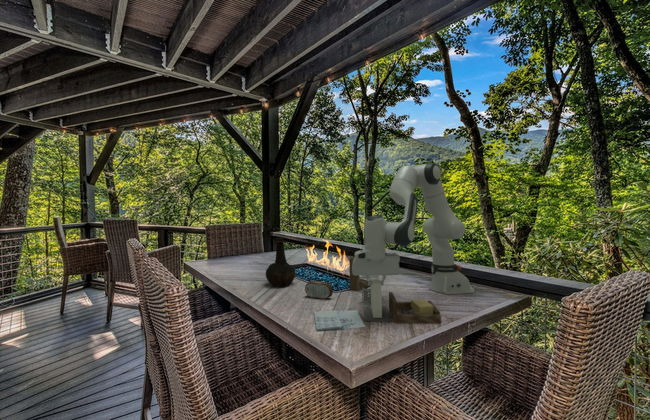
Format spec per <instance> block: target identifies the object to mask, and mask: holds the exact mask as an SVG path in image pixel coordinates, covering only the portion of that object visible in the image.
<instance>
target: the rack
mask: <svg viewBox="0 0 650 420" xmlns="http://www.w3.org/2000/svg"><path fill="white" fill-rule="evenodd" d="M426 301H427V302H429V303H430V304H431V305H433V306H434V313H433V315H432V314H414V313H412V314H404V313H403V314H402V313H401V314H398V310H399V311H400V310H403V311H404V310H406V311H407V310H410V311H411V310H412V307H411V301H397V299H396V297H395V295H394V293H393V291H391V292H390V291H388V311H389V313H390V315H391V318H392V320H393V323H394V324H442V315H441V312H440V309H438V308H437V307H436V305H435V304H434V303H433V302H432V300H426Z"/></svg>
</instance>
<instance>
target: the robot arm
mask: <svg viewBox="0 0 650 420" xmlns="http://www.w3.org/2000/svg"><path fill="white" fill-rule="evenodd" d="M441 178H442V170H441V168H440V166H439V165H438V164H437V163H436V162H428V163H425V164H424V163H423V164H417V165H415V166H412V165H403V166H401V167H400V168H399V169H398V170H397V171H396V173H395V176H394V178H393V180H392V182H391V184H390V188H389V195H390V197H391V199H392V200H393V201H394V202H395V203H397V204H399V205H402V206H404V207H405V208H404V214H403V219H402V221H400V222H394V221H387V220H385V218H384V216H383V215H381V214H380V215H379V214H375V215H369V216H367V217H366V218H365V221H364V230H363V231H364V241H365V242H364V243H365V244H364V248H363V249H360V250H356V251H355V252H354V257H355V258H354V260H353V264H352V274H353V275H359V276H362V275H365V277H366V278H365V279H366V281H367V282H368V286H369V285H372V284H371V283H372V281H370V278H369V275H379V276H381V277H382V279H381V280H380V283H381V286H384V282H385V281H386V279H387V276H399V274H400V272H401V271H400V270H401V269H400V262H401V257H400V255H399V254H397V252H392V253H391V252H388V253H387V251H386V248H387V247H386V244H388V245H398V246H401V247H407V246H409V245H410V244H412V243H413V241H414V240H415V232H416V231H415V229H416V218H417V212H418V211H417V210H418V198H417V197H418V196H417V195H416V193H415V189H416V188H421V193H422V198H423V200H424V204H425V209H426V211H427V212H428V213H429V214H431V216H432V217H431V218H430V217H429V218H426V219H425V220H424V222H423V224H422V225H423V226H422V230H423V232H424V233H425V234H426V236H427V237H428V239H429V242H430V246H431V251H432V254H431V255H432V262H431V281H430V286H429V290H431V291H433V292H436V293H442V294H445V295H462V294H463V295H464V294H474V293H476V292H475V289H474V287H472V286H471V284H470V283H471V282H470V280H469V279H468V277H466V276H465V275H464V274H463V273H461V272H460V271H461V270H462V266H460V265H457V264H456V263H455V250H454V248H453V246H452V245H451V244H450V242H449V240H458V239H459V240H460V239H462V237H463V236H464V235H465V233H466V227H465V224H464V223H463V221H462V220H460V219H459V218H458V217H457V216H456V215H455V213H454V212H453V210H452V208H451V207H450V205H449V203H448V199H447V196H446V192H445V189H444V186H443V182H442V180H441Z"/></svg>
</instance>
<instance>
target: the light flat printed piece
mask: <svg viewBox="0 0 650 420" xmlns="http://www.w3.org/2000/svg"><path fill="white" fill-rule="evenodd" d="M313 314H314V315H313V316H314V321H315V328H316V331H317V332H321V331H331V330H334V331H335V330H344V331H345V330H350V329H351V330H352V329H364V328H366V325H365V324H364V321H363V320H362V318H361V316H360V312H359V310H358V309H355V310H354V309H352V310H342V311H340V310H339V311H338V310H335V309H334V310H324V311H323V310H321V311H320V310H319V311H313Z"/></svg>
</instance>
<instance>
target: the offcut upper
mask: <svg viewBox="0 0 650 420" xmlns="http://www.w3.org/2000/svg"><path fill="white" fill-rule="evenodd" d="M427 301H428V300H426V299H425V298H420V299H410V302H411V307H412V308H413V309H414V310H415V311H417V312H418V313H419V314H429V313H434V306H435V305H434V306H433V305H431V304H430V303H429V302H427Z"/></svg>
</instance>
